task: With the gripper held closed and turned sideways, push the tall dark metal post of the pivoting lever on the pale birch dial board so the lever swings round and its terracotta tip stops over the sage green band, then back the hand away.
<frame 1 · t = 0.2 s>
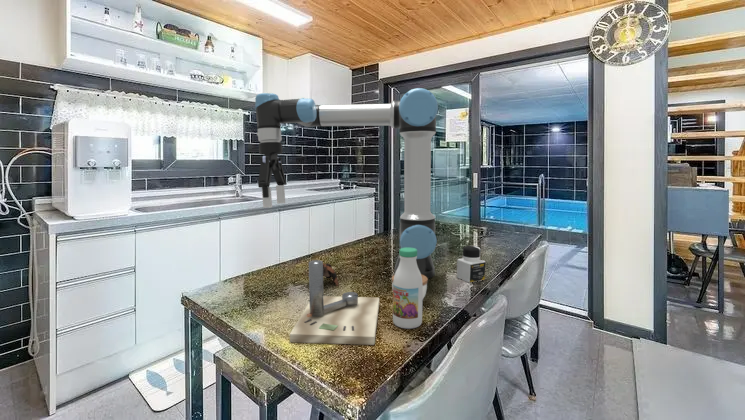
hand: (274, 205, 121), 27 cm above the table, tool pointing down, fingers open, 13 cm apart
lidded jar: (409, 302, 108), on the table
medicine bottle: (470, 279, 129), on the table
lever: (332, 283, 96), point 10 cm above the table, hinge at 0.0°
dial board: (339, 320, 95), on the table
milk bottle: (407, 323, 94), on the table
pottery mug: (325, 284, 124), on the table
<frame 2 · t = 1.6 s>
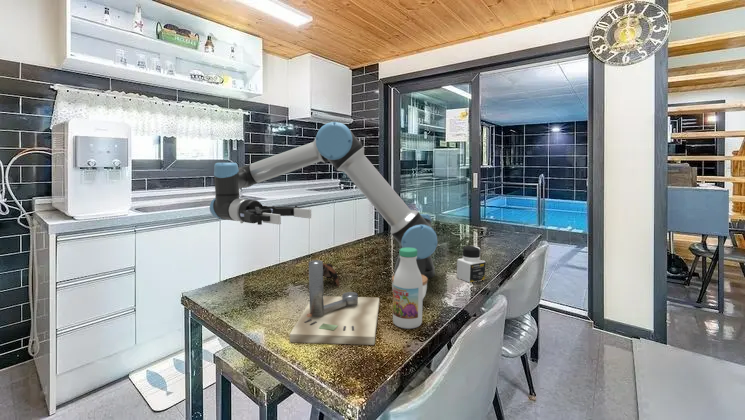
hand: (295, 216, 105), 26 cm above the table, tool horizontal, fingers open, 12 cm apart
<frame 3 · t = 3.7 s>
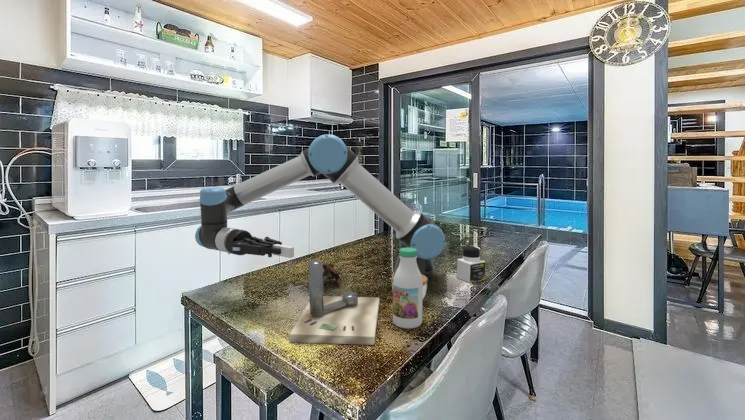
hand: (292, 252, 95), 18 cm above the table, tool horizontal, fingers closed
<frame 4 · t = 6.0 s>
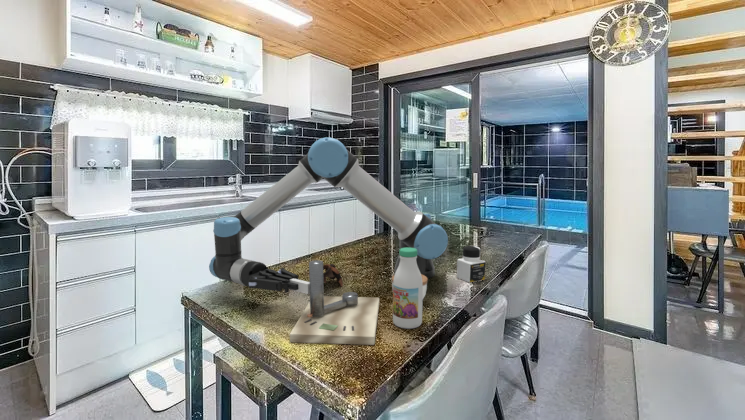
hand: (309, 288, 93), 9 cm above the table, tool horizontal, fingers closed
lever: (333, 283, 96), point 10 cm above the table, hinge at 1.0°, touching gripper
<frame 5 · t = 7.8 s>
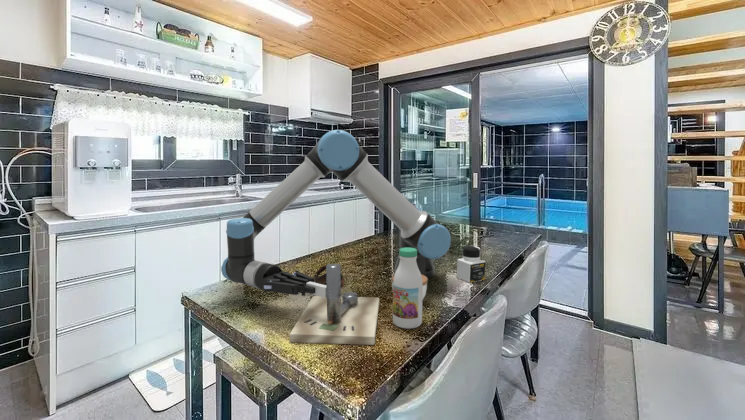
hand: (327, 291, 90), 9 cm above the table, tool horizontal, fingers closed
lever: (341, 285, 94), point 10 cm above the table, hinge at 30.9°, touching gripper
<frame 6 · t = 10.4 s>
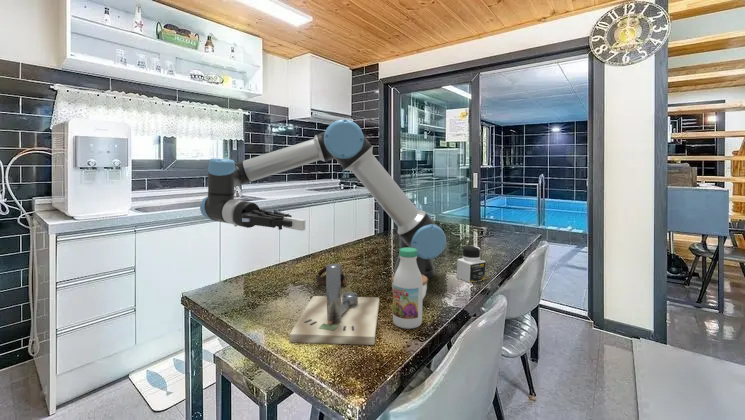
hand: (303, 225, 94), 25 cm above the table, tool horizontal, fingers closed
lever: (341, 285, 94), point 10 cm above the table, hinge at 30.9°
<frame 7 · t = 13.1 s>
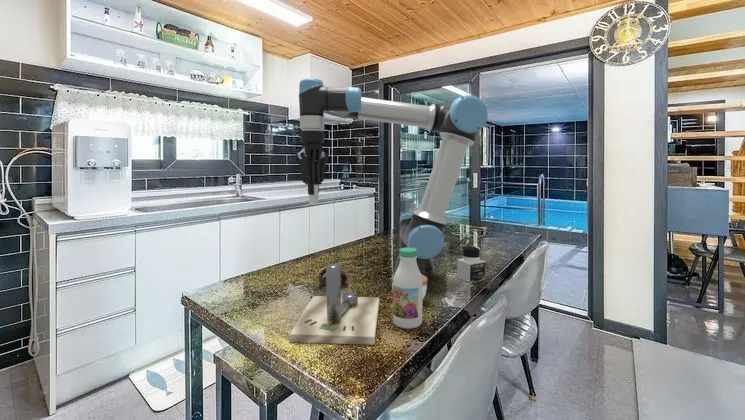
hand: (313, 204, 116), 28 cm above the table, tool pointing down, fingers closed
at the end: lever at +31° (first picture: +0°) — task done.
